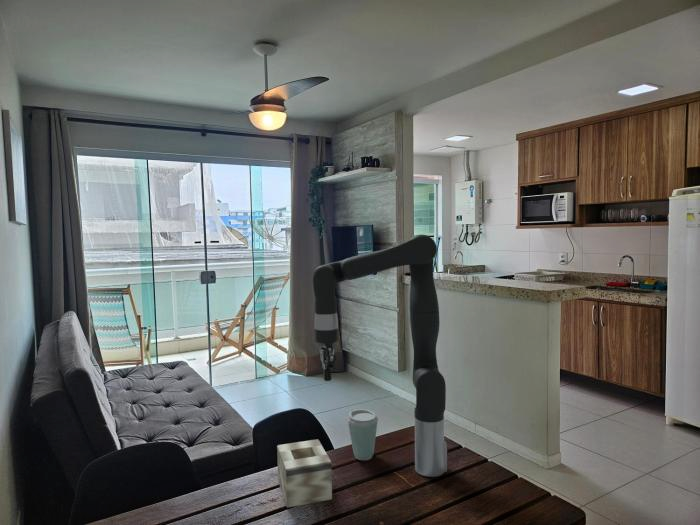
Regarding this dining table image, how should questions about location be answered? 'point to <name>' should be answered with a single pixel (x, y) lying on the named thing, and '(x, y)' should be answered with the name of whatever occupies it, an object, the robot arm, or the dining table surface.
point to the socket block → (304, 473)
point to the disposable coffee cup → (362, 432)
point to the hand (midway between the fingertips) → (327, 380)
